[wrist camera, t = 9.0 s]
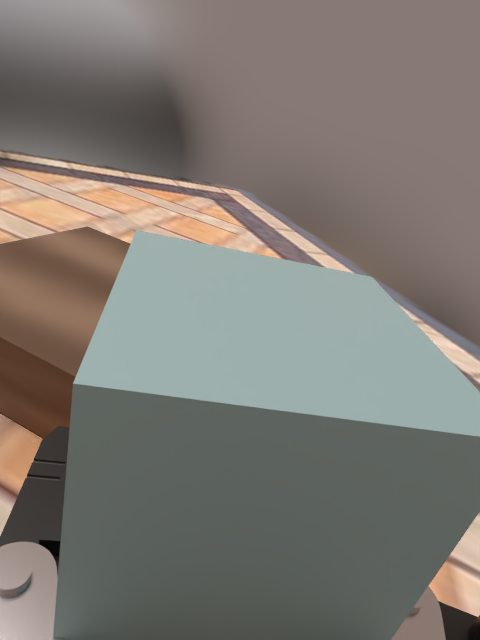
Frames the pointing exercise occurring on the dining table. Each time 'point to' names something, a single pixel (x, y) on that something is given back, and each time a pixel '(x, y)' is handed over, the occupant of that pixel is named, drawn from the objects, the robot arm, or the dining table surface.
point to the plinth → (51, 319)
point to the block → (258, 455)
